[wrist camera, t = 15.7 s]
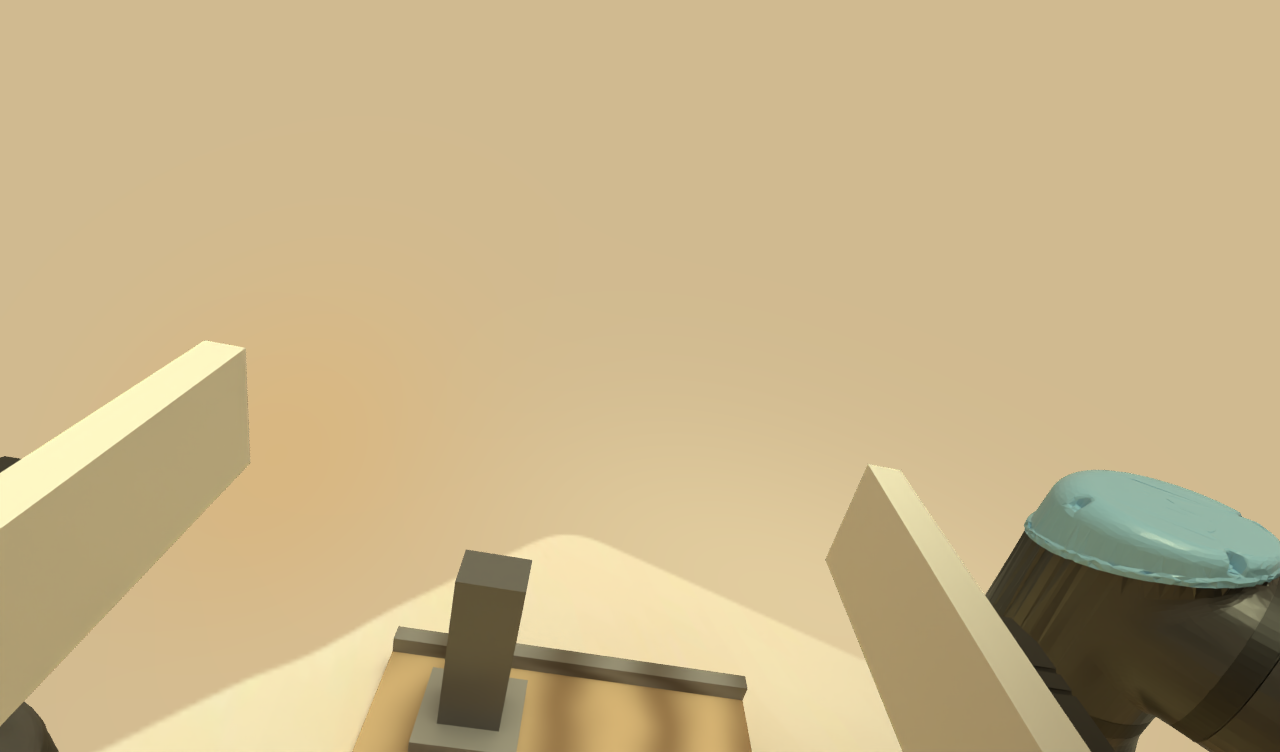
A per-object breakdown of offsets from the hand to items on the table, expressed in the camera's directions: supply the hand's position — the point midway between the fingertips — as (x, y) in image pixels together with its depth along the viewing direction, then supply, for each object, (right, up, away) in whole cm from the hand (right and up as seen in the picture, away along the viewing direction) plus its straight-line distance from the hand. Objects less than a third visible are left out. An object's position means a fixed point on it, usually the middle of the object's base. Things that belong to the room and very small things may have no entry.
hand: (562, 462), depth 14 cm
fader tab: (-9, -19, +25) cm, 33 cm away
